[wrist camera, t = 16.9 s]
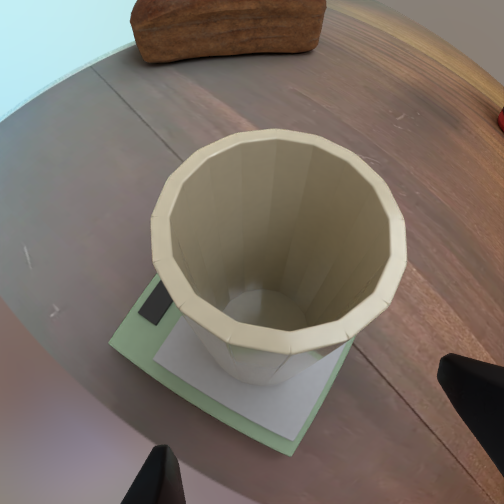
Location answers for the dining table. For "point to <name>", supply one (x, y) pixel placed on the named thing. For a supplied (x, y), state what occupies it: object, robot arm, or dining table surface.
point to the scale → (221, 374)
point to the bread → (224, 27)
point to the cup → (277, 249)
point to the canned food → (501, 119)
